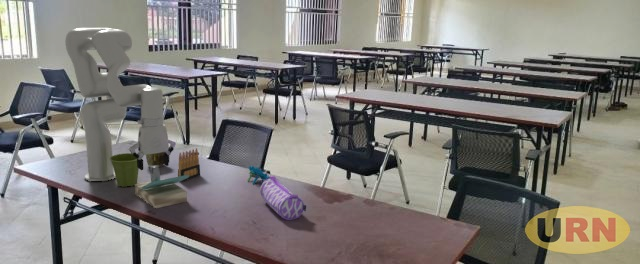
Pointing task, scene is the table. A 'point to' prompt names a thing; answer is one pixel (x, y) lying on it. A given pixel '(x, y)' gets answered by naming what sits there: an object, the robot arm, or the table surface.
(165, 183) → the teal square plate
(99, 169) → the robot arm
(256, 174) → the gear
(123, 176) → the plant pot
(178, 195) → the block
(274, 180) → the pencil case
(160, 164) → the ceramic cup
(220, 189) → the table surface
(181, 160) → the ammunition clip
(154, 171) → the steel pin
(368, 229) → the table surface
